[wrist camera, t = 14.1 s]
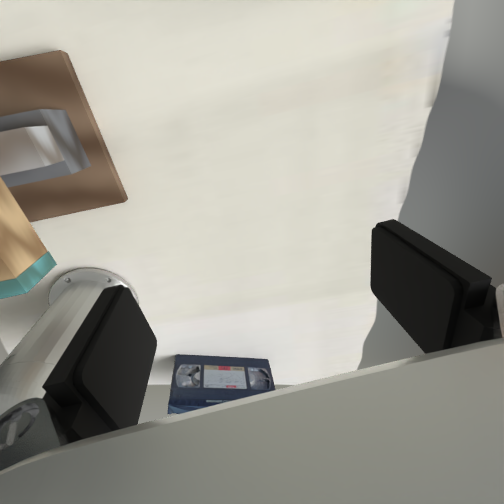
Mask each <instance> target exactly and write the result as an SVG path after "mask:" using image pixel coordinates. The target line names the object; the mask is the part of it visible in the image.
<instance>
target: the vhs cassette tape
mask: <svg viewBox="0 0 504 504" xmlns="http://www.w3.org/2000/svg"><path fill="white" fill-rule="evenodd" d="M274 390H275V386H274V382H273V377H272V373H271V368H270V365H269V361H268V359H255V358H237V357H219V356H199V355H180V354H177V355H176V356H175V363H174V370H173V375H172V383H171V390H170V399H169V403H168V414H172V413H176V414H182V413H186V412H190V411H194V410H198V409H202V408H206V407H210V406H214V405H218V404H222V403H226V402H230V401H234V400H238V399H242V398H246V397H250V396H254V395H258V394H262V393H266V392H270V391H274Z"/></svg>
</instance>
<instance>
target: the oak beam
mask: <svg viewBox="0 0 504 504" xmlns="http://www.w3.org/2000/svg"><path fill="white" fill-rule="evenodd" d="M56 265H57V264H56V262H55V261H54V259H53V257H52V256H51V254H50V253H49V251H47V249H46V248H45V246H44V245H43V243H42V242H41V240H40V238H39V237H38V235H37V234H36V232H35V230H34V229H33V227H32V226H31V224H30V222H29V221H28V219H27V218H26V216H25V215H24V213H23V211H22V210H21V208H20V207H19V205H18V203H17V202H16V200H15V199H14V197H13V196H12V194H11V192H10V191H9V189H8V188H7V186H6V184H5V183H4V181H3V180H2V178H1V177H0V299H2V298H7V297H11V296H16V295H20V294H25V293H27V292H28V291H30V290H31V289H32V288H33V287H34V286H35V285H36V284H37V283H38V282H39V281H40V280H41V279H42V278H43V277H44V276H45V275H46V274H47V273H48V272H49V271H50V270H51V269H52V268H53V267H54V266H56Z"/></svg>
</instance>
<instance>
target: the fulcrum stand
mask: <svg viewBox="0 0 504 504" xmlns="http://www.w3.org/2000/svg"><path fill="white" fill-rule="evenodd" d="M0 177H1V178H2V180H3V181H4V183H5V184H6V186H7V188H8V189H9V191H10V192H11V194H12V196H13V197H14V199H15V200H16V202H17V203H18V205H19V207H20V208H21V210H22V211H23V213H24V215H25V216H26V218H27V219H28V221H29V222H34V221H38V220H43V219H48V218H53V217H57V216H62V215H67V214H71V213H76V212H81V211H85V210H90V209H95V208H100V207H104V206H109V205H114V204H118V203H123V202H125V201H126V200H127V199H128V197H127V195H126V193H125V190H124V188H123V185H122V183H121V181H120V178H119V176H118V173H117V171H116V169H115V166H114V164H113V161H112V159H111V157H110V154H109V152H108V149H107V147H106V145H105V142H104V140H103V138H102V135H101V133H100V130H99V128H98V126H97V123H96V121H95V118H94V116H93V114H92V111H91V109H90V106H89V104H88V102H87V99H86V97H85V94H84V92H83V90H82V87H81V85H80V82H79V80H78V78H77V75H76V73H75V70H74V68H73V66H72V63H71V61H70V58H69V56H68V54H67V53H66V52H63V51H61V50H58V51H53V52H48V53H43V54H38V55H32V56H27V57H22V58H17V59H12V60H6V61H1V62H0Z"/></svg>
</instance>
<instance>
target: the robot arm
mask: <svg viewBox="0 0 504 504" xmlns="http://www.w3.org/2000/svg"><path fill="white" fill-rule="evenodd" d="M491 279H492V278H491V277H489V276H488V275H486V274H485V273H483V272H481V271H480V270H478V269H476V268H475V267H473V266H471V265H470V264H468V263H466V262H465V261H463V260H461V259H460V258H458V257H456V256H455V255H453V254H451V253H450V252H448V251H446V250H445V249H443V248H441V247H440V246H438V245H436V244H435V243H433V242H431V241H430V240H428V239H426V238H425V237H423V236H421V235H420V234H418V233H416V232H415V231H413V230H411V229H409V228H408V227H406V226H405V225H403V224H401V223H400V222H398V221H396V220H394V219H393V220H388V221H384V222H380V223H377V224H376V227H375V228H373V229H372V242H371V290H372V292H373V294H374V295H375V296H376V297H377V298H378V299H379V301H380V302H381V303H382V304H383V305H384V306H385V308H386V309H387V310H388V311H389V312H390V313H391V314H392V316H393V317H394V318H395V319H396V320H397V321H398V323H399V324H400V325H401V326H402V327H403V328H404V330H406V332H407V333H408V334H409V335H410V336H411V338H412V339H413V340H414V341H415V342H416V343H417V344H418V346H420V348H421V349H422V350H423V351H424V353H425V354H423V355H419V356H415V357H411V358H407V359H402V360H398V361H394V362H390V363H386V364H382V365H377V366H373V367H369V368H365V369H361V370H356V371H352V372H348V373H344V374H340V375H336V376H331V377H327V378H323V379H319V380H315V381H311V382H307V383H303V384H299V385H295V386H291V387H286V388H282V389H278V390H274V391H270V392H266V393H262V394H258V395H254V396H250V397H246V398H242V399H238V400H234V401H230V402H226V403H222V404H218V405H214V406H210V407H206V408H202V409H198V410H194V411H190V412H186V413H182V414H178V415H174V416H170V417H166V418H162V419H158V420H154V421H150V422H146V423H142V424H138V419H139V416H140V412H141V407H142V404H143V400H144V396H145V392H146V388H147V384H148V380H149V376H150V372H151V368H152V364H153V360H154V356H155V351H156V347H157V340H156V337H155V335H154V333H153V331H152V329H151V328H150V326H149V324H148V322H147V320H146V318H145V316H144V314H143V313H142V311H141V309H140V307H139V302H138V297H137V295H136V293H135V291H134V290H133V288H132V287H131V286H130V285H129V284H128V283H127V282H126V281H125V280H124V279H122V278H121V277H119V276H117V275H115V274H113V273H111V272H108V271H105V270H101V269H94V268H83V269H77V270H73V271H70V272H68V273H66V274H64V275H63V276H61V277H60V278H59V279H58V280H57V281H56V282H55V283H54V285H53V286H52V288H51V290H50V292H49V298H48V299H49V305H50V307H49V308H48V309H47V311H46V312H45V313H44V314H43V315H42V317H41V318H40V319H39V320H38V321H37V322H36V324H35V325H34V326H33V327H32V328H31V330H30V331H29V332H28V333H27V334H26V335H25V337H24V338H23V339H22V340H21V341H20V343H19V344H18V345H17V346H16V347H15V348H14V350H13V351H12V352H11V353H10V354H9V356H8V357H7V358H6V359H5V360H4V361H3V363H2V364H1V365H0V504H504V284H501V285H500V286H498V287H497V288H495V287H493V286H492V285H490V283H491ZM137 424H138V425H137Z"/></svg>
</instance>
